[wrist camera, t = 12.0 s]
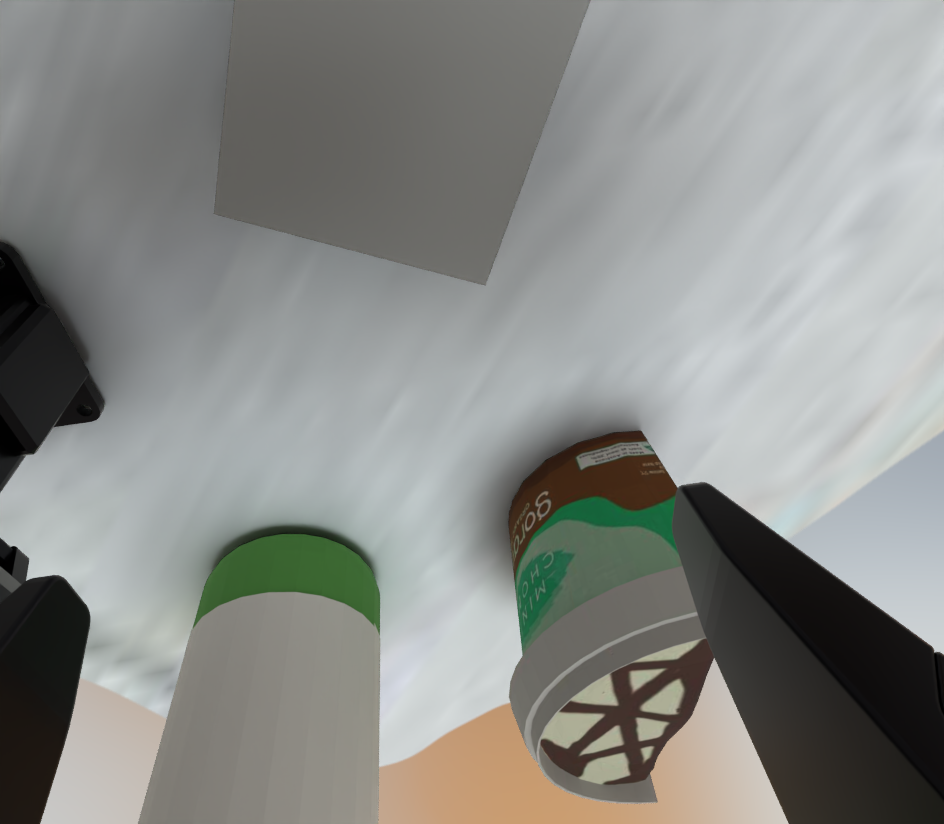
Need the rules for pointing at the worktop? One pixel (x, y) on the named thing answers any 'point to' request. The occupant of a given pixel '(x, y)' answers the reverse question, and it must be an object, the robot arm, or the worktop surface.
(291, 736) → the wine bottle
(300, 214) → the slate block
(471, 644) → the worktop surface
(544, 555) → the food container
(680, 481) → the worktop surface
